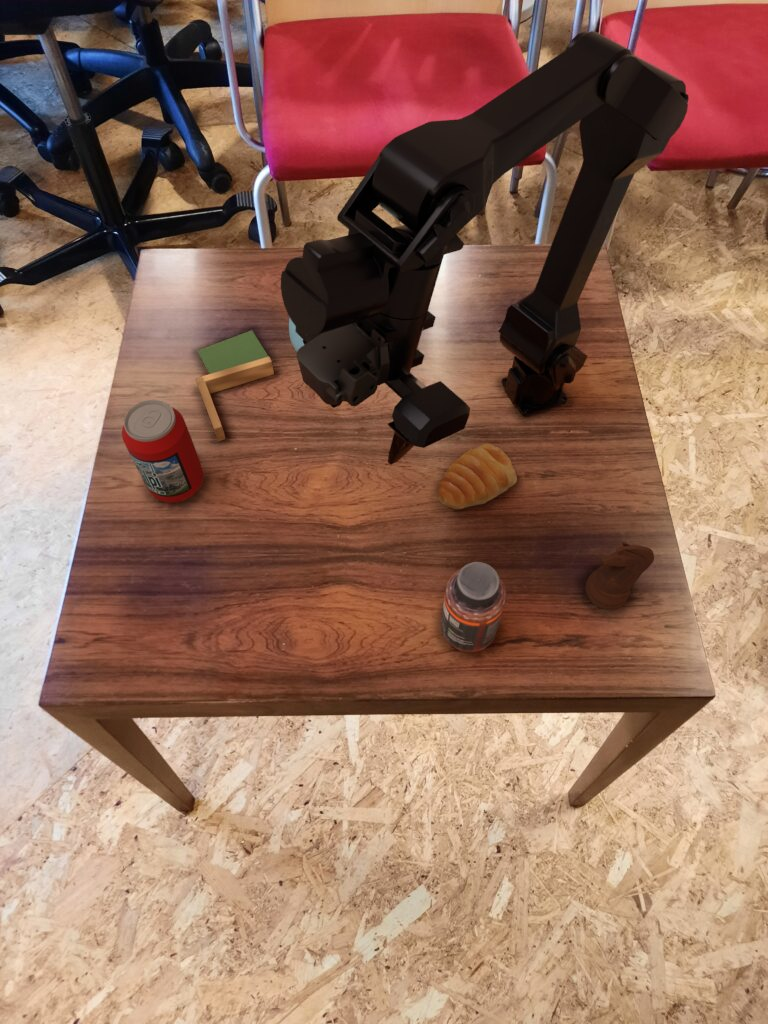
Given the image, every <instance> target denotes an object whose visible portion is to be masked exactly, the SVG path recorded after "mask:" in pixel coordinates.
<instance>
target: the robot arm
mask: <svg viewBox="0 0 768 1024" xmlns="http://www.w3.org/2000/svg"><path fill="white" fill-rule="evenodd" d="M689 99H690V98H689V94H687V87H686V83H685V82H684V81H683V80H682V79H680V78H678V77H677V76H674V75H673V74H670V73H669V72H667V71H665V70H663V69H661V68H660V67H658V66H655V65H654V64H652V63H650V62H648V61H646V60H644V59H643V58H641V57H639V56H637V55H635V54H633V52H632V51H631V49H630V48H627V47H626V46H624V45H622V44H620V43H618V42H616V41H615V40H612V39H610V38H609V37H606V36H605V35H603V34H601V33H599V32H597V31H593V30H590V31H585V30H583V31H581V32H579V33H578V34H576V35H575V36H574V37H573V38H572V39H571V40H570V41H569V43H568V45H567V46H566V48H565V50H564V51H562V52H561V53H559V54H557V55H556V56H555V57H553V58H552V59H551V60H549V61H548V62H546V63H544V64H543V65H541V66H540V67H538V68H537V69H535V70H534V71H533V72H531V73H530V74H527V76H525V77H524V78H522V79H521V80H519V81H518V82H516V83H515V84H513V85H512V86H510V87H509V88H507V89H506V90H505V91H503V92H502V93H500V94H499V95H497V96H496V97H494V98H492V99H491V100H490V101H488V102H487V103H485V104H484V105H483V106H481V107H480V108H478V109H476V110H475V111H473V112H472V113H470V114H468V115H465V116H464V117H463V116H462V117H461V118H458V119H457V118H456V119H445V120H432V121H431V120H430V121H428V122H425V123H423V124H421V125H418V126H416V127H414V128H412V129H410V130H407V131H406V132H403V133H400V134H399V135H397V136H395V137H394V138H392V139H391V140H390V141H389V142H388V143H387V144H385V146H384V147H383V148H382V149H381V150H380V152H379V155H378V156H377V158H376V159H375V160H374V162H373V164H372V165H371V166H370V168H369V169H368V171H367V172H366V174H365V175H364V177H363V178H362V179H361V181H360V182H359V183H358V185H357V187H356V188H355V190H354V191H353V193H352V194H351V195H350V197H349V198H348V200H347V201H346V203H345V204H344V206H343V207H342V208H341V209H340V211H339V212H338V214H337V216H336V220H337V221H338V223H340V224H342V225H343V226H344V227H345V228H346V229H347V230H348V232H347V235H344V236H343V235H342V236H340V237H334V238H331V239H317V240H312V241H307V242H305V243H304V244H303V250H302V255H300V256H297V257H294V258H292V259H290V260H289V261H288V263H287V264H286V265H285V268H284V270H282V271H281V275H280V291H281V298H282V302H283V306H284V308H285V311H286V313H287V316H288V318H290V319H291V321H292V322H293V323H294V325H295V326H296V330H295V332H296V333H297V334H298V335H299V336H300V337H301V338H302V339H303V343H304V346H302V347H301V348H300V349H299V350H298V351H296V359H297V364H298V368H299V370H300V375H301V378H302V381H303V383H304V384H305V385H306V386H308V387H309V388H310V389H311V390H312V391H313V392H314V393H315V394H316V395H317V396H318V397H319V398H320V400H321V401H322V402H323V403H325V405H329V406H330V407H332V409H335V408H337V407H340V406H341V405H342V403H343V402H346V403H348V405H350V406H351V407H357V406H359V405H360V404H362V403H363V402H365V401H366V400H367V399H369V398H370V397H372V396H373V395H375V393H376V392H377V390H378V386H380V385H383V384H385V385H387V387H388V388H389V389H390V390H392V391H393V392H394V393H395V394H396V396H398V397H399V398H400V400H399V401H398V402H397V403H396V404H395V406H394V407H393V411H392V415H391V417H392V421H390V422H388V423H387V426H388V427H389V428H390V429H391V430H392V431H394V433H393V436H392V440H391V444H390V446H389V451H388V455H387V463H388V464H389V465H390V466H391V465H394V464H396V463H398V462H399V461H400V460H401V459H403V458H404V456H405V455H407V454H408V453H409V452H410V450H412V449H413V448H415V447H417V448H421V449H424V448H427V447H429V446H431V445H433V444H435V443H437V442H440V441H442V440H444V439H446V438H447V437H450V436H452V435H454V434H457V433H458V432H461V431H463V430H465V428H466V425H467V423H468V420H469V418H470V414H471V413H470V412H471V407H470V406H469V405H468V404H467V403H466V402H465V401H464V400H463V399H462V398H461V397H460V396H458V395H457V394H456V393H455V392H454V391H453V390H451V389H450V388H449V387H448V386H447V385H446V384H445V383H444V382H442V381H441V380H439V381H437V382H434V383H432V384H429V385H427V386H426V385H425V384H424V383H423V382H422V381H421V380H420V379H418V378H417V377H416V376H415V375H414V374H413V373H412V372H411V370H412V369H413V368H416V367H418V366H420V365H423V362H424V358H425V354H424V353H423V352H422V351H420V350H419V349H418V347H419V344H420V340H421V337H422V334H423V331H425V330H428V329H431V328H434V326H435V322H436V318H437V317H436V316H435V315H434V314H433V313H431V311H429V308H430V305H431V301H432V298H433V294H434V291H435V289H436V288H435V287H436V284H437V280H438V277H439V274H440V271H441V270H440V269H441V268H442V267H441V266H442V263H443V260H444V257H445V255H448V254H452V253H455V252H459V251H461V250H463V248H464V246H465V243H464V241H463V240H462V239H461V237H459V235H458V234H459V232H461V231H462V229H464V228H465V227H466V226H467V225H468V224H469V223H471V221H472V220H473V219H474V218H475V217H476V216H478V215H479V214H480V213H481V212H482V211H483V210H484V209H485V207H486V205H487V201H488V199H489V196H490V193H491V191H492V188H493V185H494V184H495V183H496V182H497V181H498V180H500V179H501V178H502V176H504V175H505V174H506V173H508V172H509V171H511V170H512V169H514V168H515V167H516V166H518V165H519V164H521V163H522V162H523V161H525V160H526V159H528V158H529V157H531V156H532V155H533V154H535V153H536V152H537V151H539V150H540V149H542V148H543V147H545V146H546V145H547V144H549V143H551V142H552V141H553V140H554V139H556V138H557V137H559V136H560V135H562V134H563V133H564V132H566V131H567V130H569V129H570V128H571V127H573V126H574V125H576V124H577V123H578V122H579V124H578V128H579V129H578V130H579V135H580V136H579V137H580V144H581V145H580V146H581V153H582V164H581V166H580V169H579V172H578V174H577V177H576V179H575V182H574V185H573V187H572V190H571V192H570V196H569V197H568V200H567V203H566V206H565V209H564V210H563V213H562V216H561V219H560V221H559V223H558V226H557V228H556V231H555V234H554V236H553V240H552V242H551V245H550V248H549V250H548V252H547V255H546V258H545V260H544V263H543V266H542V268H541V271H540V272H539V276H538V278H537V281H536V283H535V286H534V288H533V290H532V292H530V293H529V294H527V295H526V296H524V297H523V298H522V299H520V300H519V301H518V302H516V303H513V304H511V305H509V306H508V307H507V309H506V313H505V317H504V320H503V322H502V324H501V326H500V328H499V330H497V331H498V333H499V342H500V344H501V345H502V346H503V348H505V349H506V350H507V351H508V352H509V353H511V354H512V355H513V356H514V357H513V360H512V364H511V367H510V368H509V369H508V372H507V376H506V377H503V378H502V379H501V381H500V383H501V385H502V387H503V388H504V392H505V393H506V395H507V397H508V399H510V401H511V403H512V404H513V405H515V407H516V408H517V410H518V411H519V413H520V415H521V416H522V417H524V418H525V417H530V416H533V415H536V414H539V413H541V412H545V411H547V410H550V409H553V408H556V407H559V406H562V405H565V404H567V403H568V401H569V398H568V396H567V394H566V393H565V392H564V390H563V387H564V385H565V384H571V383H573V382H574V380H575V378H576V374H577V373H578V372H579V371H581V370H582V369H583V367H584V364H585V363H586V361H587V359H588V355H587V354H586V353H585V352H583V351H582V350H581V349H580V348H578V347H577V346H576V345H577V341H578V340H579V336H580V335H581V334H580V333H581V332H582V331H581V330H582V326H581V319H580V310H579V305H578V302H579V300H580V297H581V295H582V293H583V291H584V288H585V286H586V284H587V282H588V279H589V277H590V275H591V272H592V271H593V267H594V265H595V263H596V262H597V259H598V257H599V254H600V252H601V250H602V247H603V245H604V243H605V241H606V239H607V237H608V234H609V232H610V229H611V227H612V225H613V223H614V221H615V218H616V216H617V214H618V212H619V209H620V207H621V205H622V203H623V201H624V198H625V196H626V193H627V191H628V189H629V187H630V185H631V182H632V180H633V178H634V176H635V174H636V173H637V172H639V171H641V170H642V169H643V168H644V167H645V166H647V165H648V164H649V163H651V162H652V161H654V160H655V159H656V158H657V157H659V156H660V155H661V154H662V153H663V152H664V151H665V149H666V148H667V146H668V144H669V142H670V140H671V138H673V136H674V135H675V134H676V133H677V132H678V130H679V129H680V127H681V126H682V123H683V122H684V120H685V118H686V116H687V113H688V107H689V104H688V102H689ZM378 206H380V207H381V208H382V209H383V210H385V211H386V212H387V213H388V214H390V215H391V216H392V217H394V218H395V220H397V221H399V222H400V223H401V224H402V225H398V226H395V227H394V226H391V225H390V224H389V223H388V222H386V221H385V220H384V219H383V218H381V217H380V216H379V215H378V214H377V213H375V212H374V210H375V209H376V208H377V207H378Z"/></svg>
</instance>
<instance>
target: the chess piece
mask: <svg viewBox="0 0 768 1024" xmlns="http://www.w3.org/2000/svg"><path fill="white" fill-rule="evenodd" d="M621 544H622V546H617V547H615V551H614V552H613V553H611V554H609V555H607V556H603V557H602V558H601V562H602V565H601V566H599V567H598V568H597V569H596V570H594V571H593V572H591V574H590V575H589V576H588V578H587V579H586V582H585V594H586V596H587V598H588V599H589V601H590V602H591V603H592V604H593V605H594V606H596V607H597V608H600V609H602V610H608V611H609V610H610V611H612V610H616V609H617V610H618V609H619V608H621V607H622V606H623V605H625V604H626V602H627V600H628V599H629V596H630V594H631V587H633V585H635V583H636V582H637V581H638V580H639V579H640V577H641V576H642V574H643V573H645V571H647V569H648V568H650V567H651V566H652V564H653V563H654V561H655V554H654V551H653V550H652V549H651V547H647V546H644V545H637V544H633V545H632V544H629V543H626V542H624V541H622V542H621Z"/></svg>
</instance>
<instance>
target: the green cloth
mask: <svg viewBox="0 0 768 1024" xmlns="http://www.w3.org/2000/svg"><path fill="white" fill-rule="evenodd" d="M196 352H197V355H199V358H200V359H201V361H202V363H203V365H204V366H205V369H206V370H207V372H208V374H212V373H215V372H219V371H222V370H225V369H229V368H232V367H235V366H239V365H242V364H245V363H249V362H252V361H255V360H259V359H262V358H266V357H270V356H269V355H268V353H267V351H266V350H265V348H264V347H263V345H262V343H261V342H260V340H259V338H258V337H257V336H256V334H255V332H254V331H253V329H251V330H249V331H246V332H243V333H241V334H238V335H235V336H232V337H230V338H226V339H224V340H222V341H219V342H216V343H214V344H211V345H209V346H206V347H202V348H200V349H198V350H196Z"/></svg>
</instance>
